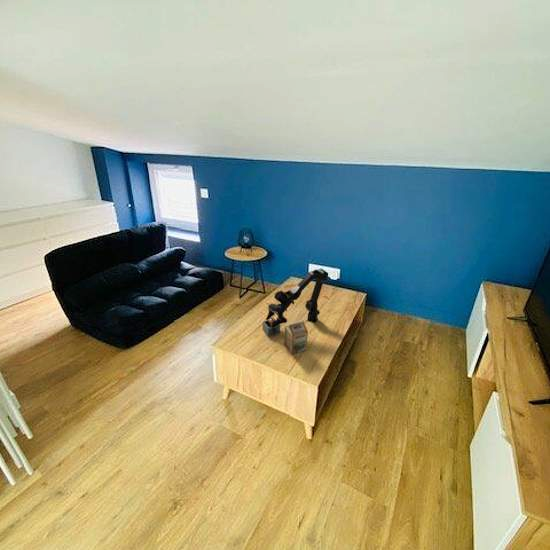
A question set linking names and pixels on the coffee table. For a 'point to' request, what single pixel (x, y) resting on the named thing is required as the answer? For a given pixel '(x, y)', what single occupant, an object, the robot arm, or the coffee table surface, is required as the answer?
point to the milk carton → (296, 337)
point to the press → (270, 328)
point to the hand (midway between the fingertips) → (269, 323)
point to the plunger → (271, 321)
